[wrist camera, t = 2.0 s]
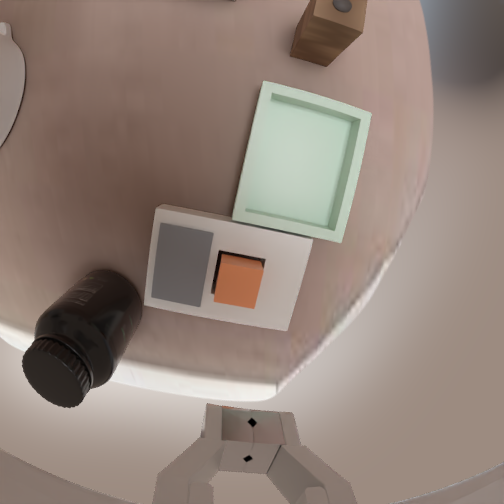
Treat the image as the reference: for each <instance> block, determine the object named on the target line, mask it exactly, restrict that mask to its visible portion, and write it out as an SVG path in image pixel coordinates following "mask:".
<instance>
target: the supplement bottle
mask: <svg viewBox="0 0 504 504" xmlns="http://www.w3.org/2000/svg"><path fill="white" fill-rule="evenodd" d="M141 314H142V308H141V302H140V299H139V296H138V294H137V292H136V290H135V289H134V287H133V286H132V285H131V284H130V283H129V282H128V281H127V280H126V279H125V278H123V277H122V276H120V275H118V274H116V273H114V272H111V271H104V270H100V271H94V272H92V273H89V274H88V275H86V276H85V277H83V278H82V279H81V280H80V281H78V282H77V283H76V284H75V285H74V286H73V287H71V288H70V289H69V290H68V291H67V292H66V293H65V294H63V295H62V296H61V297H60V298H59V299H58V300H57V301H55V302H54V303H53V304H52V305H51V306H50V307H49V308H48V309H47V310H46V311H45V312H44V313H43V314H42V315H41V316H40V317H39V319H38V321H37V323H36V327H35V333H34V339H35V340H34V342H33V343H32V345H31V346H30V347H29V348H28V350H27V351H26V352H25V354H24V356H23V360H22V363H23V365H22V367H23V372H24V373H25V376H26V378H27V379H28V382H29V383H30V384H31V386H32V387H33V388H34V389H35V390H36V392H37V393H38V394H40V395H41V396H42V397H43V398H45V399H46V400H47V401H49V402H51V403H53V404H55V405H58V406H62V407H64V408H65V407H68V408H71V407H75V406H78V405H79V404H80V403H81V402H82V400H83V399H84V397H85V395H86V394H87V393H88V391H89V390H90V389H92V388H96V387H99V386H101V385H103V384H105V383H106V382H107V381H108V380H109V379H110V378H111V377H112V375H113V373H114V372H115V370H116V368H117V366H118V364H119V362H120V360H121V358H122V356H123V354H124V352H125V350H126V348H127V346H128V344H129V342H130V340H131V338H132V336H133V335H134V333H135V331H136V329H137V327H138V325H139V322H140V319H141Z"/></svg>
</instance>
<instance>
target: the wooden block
mask: <svg viewBox="0 0 504 504" xmlns="http://www.w3.org/2000/svg"><path fill="white" fill-rule="evenodd" d="M366 6H367V0H310V2H309V4H308V6H307V8H306V10H305V11H304V13H303V15H302V17H301V19H300V21H299V23H298V25H297V28H296V32H295V37H294V41H293V45H292V49H291V54H290V56H291V57H295V58H299V59H302V60H306V61H309V62H312V63H316V64H319V65H322V66H325V67H327V66H328V65H329V64H330V63H331V62H332V61H333V60H334V59H335V58H336V57H337V56H338V55H339V54H340V53H341V52H342V51H344V50H345V49H346V48H347V47H348V46H349V45H350V44H351V43H352V42H353V41H354V40H355V39H356V38H357V37H359V36H360V35H361V34H362V33H363V28H364V21H365V14H366Z"/></svg>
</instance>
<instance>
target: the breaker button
mask: <svg viewBox="0 0 504 504" xmlns="http://www.w3.org/2000/svg"><path fill="white" fill-rule="evenodd" d="M263 272H264V270H263V266H262V263H261V261H257V260H252V259H247V258H242V257H236V256H231V255H226V254H222V257H221V262H220V267H219V272H218V277H217V282H216V287H215V294H214V301H213V302H218V303H223V304H228V305H234V306H240V307H245V308H251V309H254V308H255V304H256V300H257V296H258V292H259V288H260V284H261V280H262V276H263Z"/></svg>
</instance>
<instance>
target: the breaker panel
mask: <svg viewBox="0 0 504 504" xmlns="http://www.w3.org/2000/svg"><path fill="white" fill-rule="evenodd" d="M312 243H313V239H312V238H311V237H310V236H306V235H302V234H297V233H293V232H288V231H283V230H279V229H274V228H269V227H264V226H259V225H255V224H250V223H245V222H240V221H235V220H232V217H229V216H224V215H219V214H214V213H209V212H204V211H199V210H194V209H189V208H183V207H178V206H173V205H167V204H162V205H160V206H158V207H156V209H155V216H154V222H153V229H152V236H151V244H150V252H149V260H148V268H147V278H146V288H145V298H144V305H146V306H150V307H155V308H159V309H164V310H168V311H173V312H178V313H183V314H188V315H193V316H198V317H204V318H209V319H214V320H220V321H225V322H231V323H237V324H243V325H249V326H255V327H262V328H268V329H275V330H282V331H287V330H288V326H289V323H290V320H291V317H292V313H293V310H294V307H295V303H296V300H297V297H298V293H299V290H300V286H301V283H302V279H303V276H304V272H305V269H306V265H307V261H308V258H309V254H310V251H311V247H312ZM219 250H222V251H227V252H232V253H237V254H243V255H248V256H253V257H258V258H261V260H260V261H261V263H262V266H263V270H264V272H263V276H262V280H261V284H260V288H259V292H258V296H257V300H256V304H255V308H254V309H251V308H245V307H240V306H234V305H228V304H223V303H218V302H213V301H214V294H215V287H216V283H215V282H213V277H214V272H215V267H216V262H217V257H218V252H219Z"/></svg>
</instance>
